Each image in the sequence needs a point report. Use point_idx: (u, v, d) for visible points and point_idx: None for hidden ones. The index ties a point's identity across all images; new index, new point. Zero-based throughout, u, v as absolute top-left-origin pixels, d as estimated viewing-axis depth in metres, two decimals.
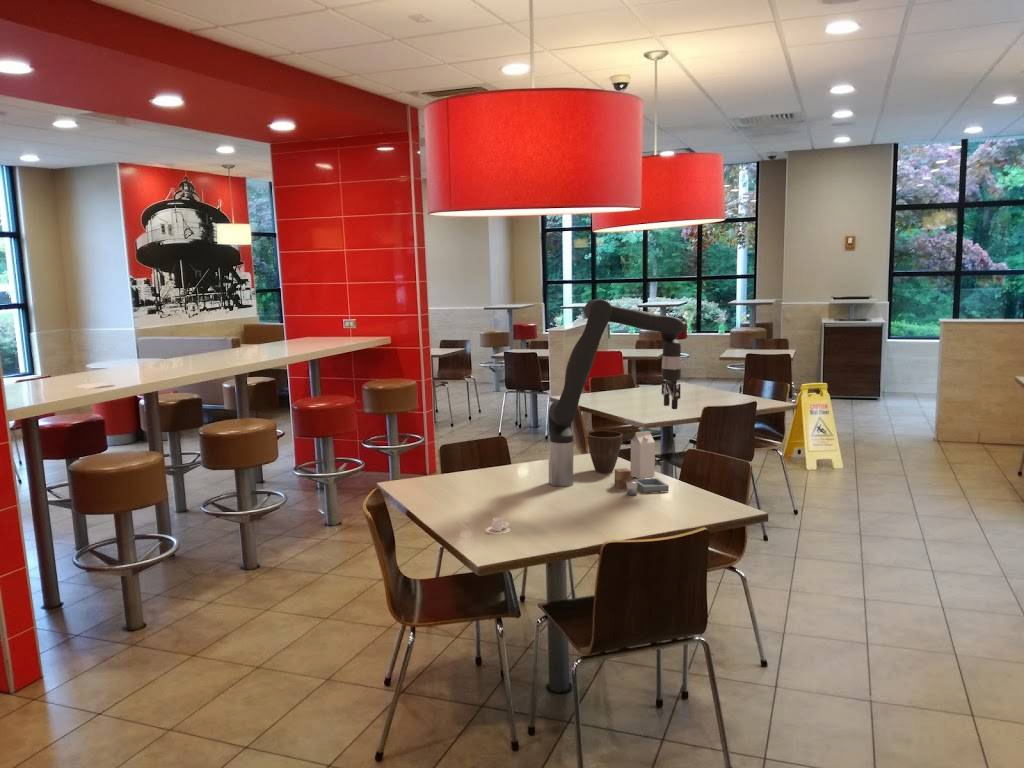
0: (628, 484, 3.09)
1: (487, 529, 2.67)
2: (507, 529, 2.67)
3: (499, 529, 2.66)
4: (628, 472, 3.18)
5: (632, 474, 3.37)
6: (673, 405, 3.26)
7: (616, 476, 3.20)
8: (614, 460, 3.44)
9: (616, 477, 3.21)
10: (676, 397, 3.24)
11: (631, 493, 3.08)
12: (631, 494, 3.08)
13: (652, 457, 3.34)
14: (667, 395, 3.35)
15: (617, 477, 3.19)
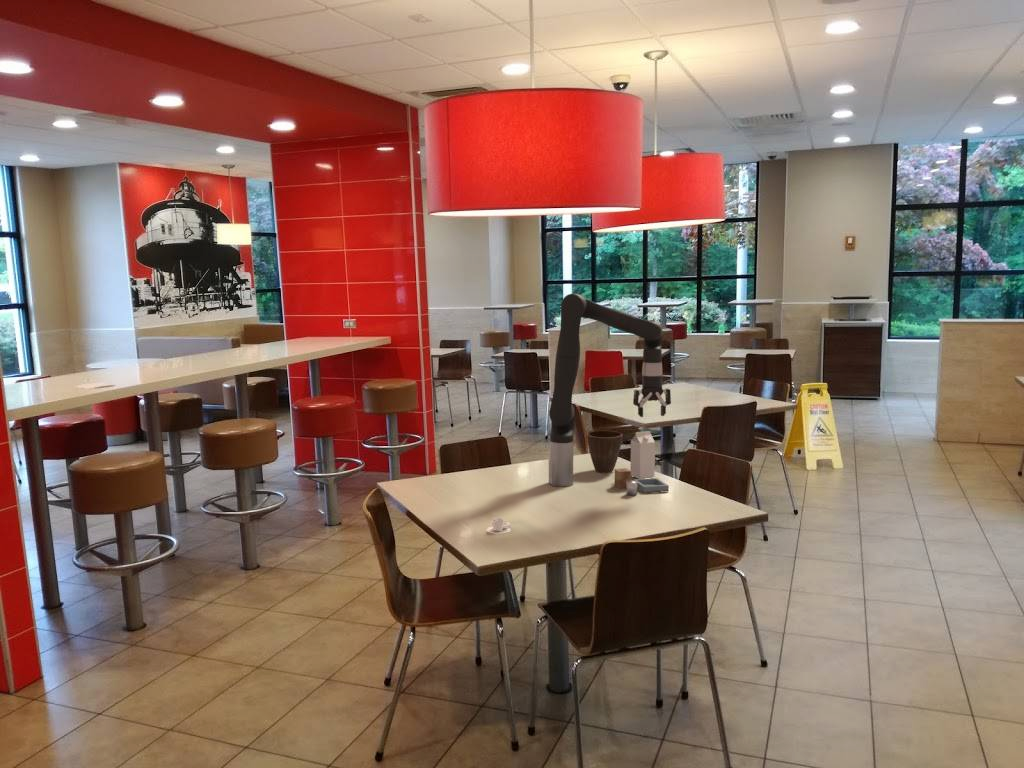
0: (628, 484, 3.09)
1: (488, 529, 2.67)
2: (508, 529, 2.67)
3: (500, 529, 2.66)
4: (628, 472, 3.18)
5: (632, 474, 3.37)
6: (664, 412, 3.15)
7: (616, 476, 3.20)
8: (614, 460, 3.44)
9: (616, 477, 3.21)
10: None
11: (631, 493, 3.08)
12: (631, 494, 3.08)
13: (652, 457, 3.34)
14: None
15: (617, 477, 3.19)
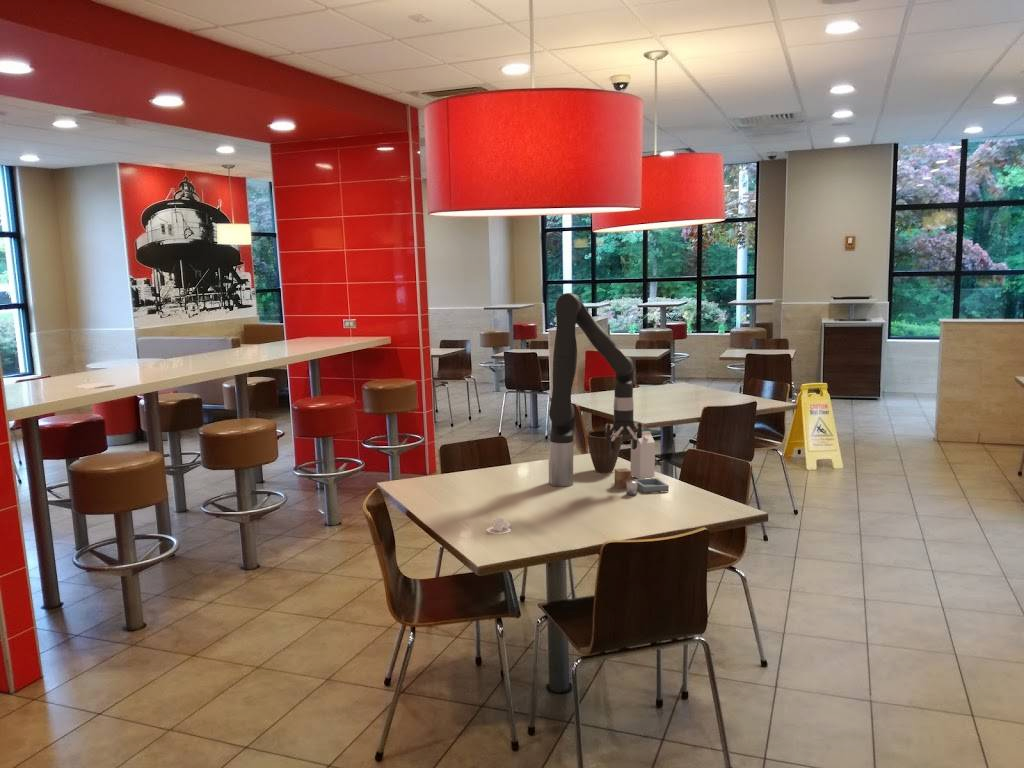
0: (628, 484, 3.09)
1: (488, 529, 2.67)
2: (508, 529, 2.67)
3: (500, 529, 2.65)
4: (628, 472, 3.18)
5: (632, 474, 3.37)
6: (636, 445, 3.19)
7: (616, 476, 3.20)
8: (614, 460, 3.44)
9: (616, 477, 3.21)
10: None
11: (631, 493, 3.08)
12: (631, 494, 3.08)
13: (652, 457, 3.34)
14: None
15: (617, 477, 3.19)
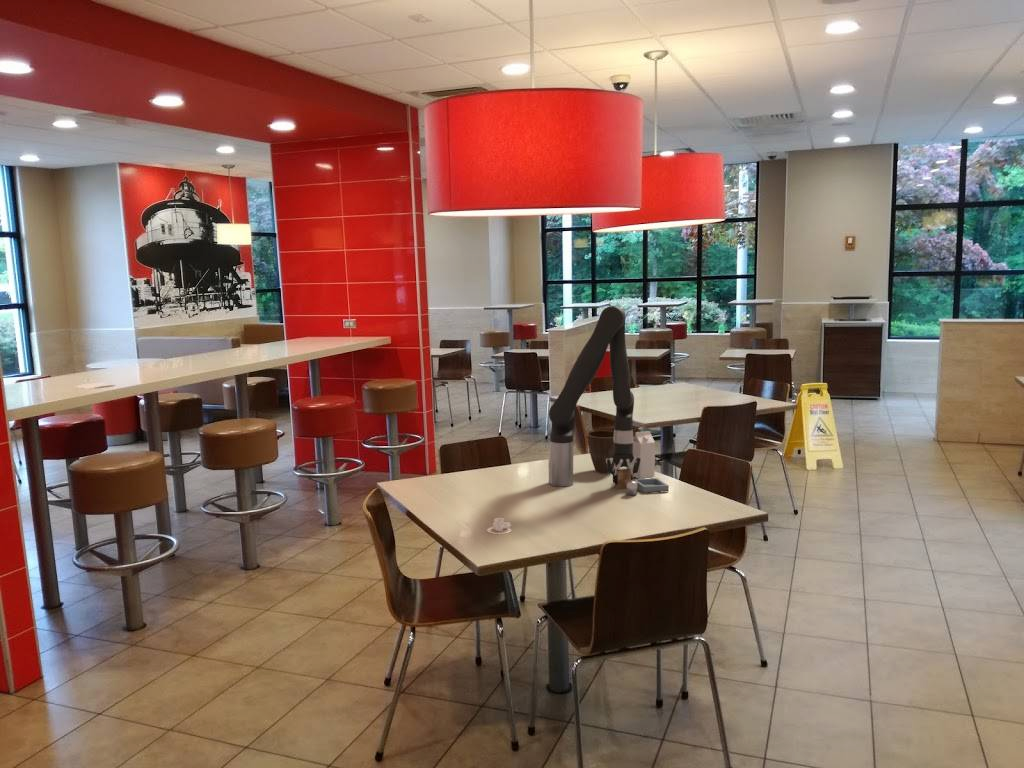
0: (628, 484, 3.09)
1: (488, 529, 2.67)
2: (508, 529, 2.67)
3: (500, 529, 2.65)
4: (628, 472, 3.18)
5: None
6: None
7: None
8: None
9: None
10: None
11: (631, 493, 3.08)
12: (631, 494, 3.08)
13: (652, 457, 3.34)
14: None
15: (617, 477, 3.19)
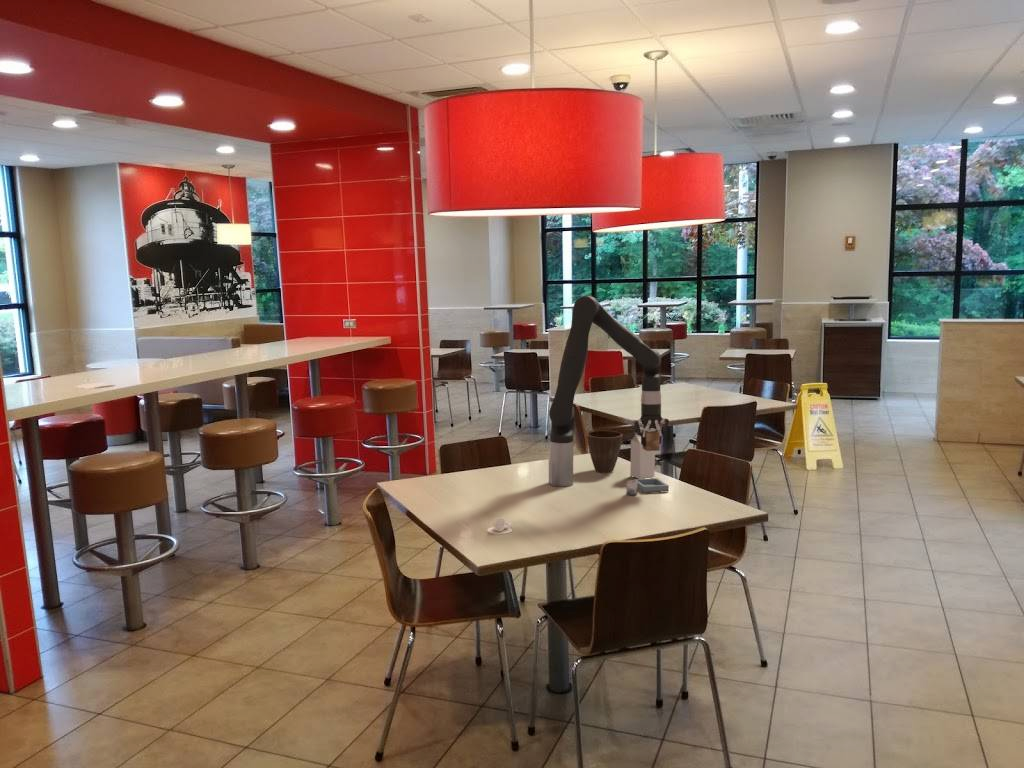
0: (628, 484, 3.09)
1: (489, 529, 2.67)
2: (509, 529, 2.67)
3: (501, 529, 2.65)
4: (656, 433, 3.14)
5: (632, 474, 3.37)
6: (660, 441, 3.17)
7: None
8: (614, 460, 3.44)
9: None
10: None
11: (631, 493, 3.08)
12: (631, 494, 3.08)
13: (652, 457, 3.34)
14: None
15: None
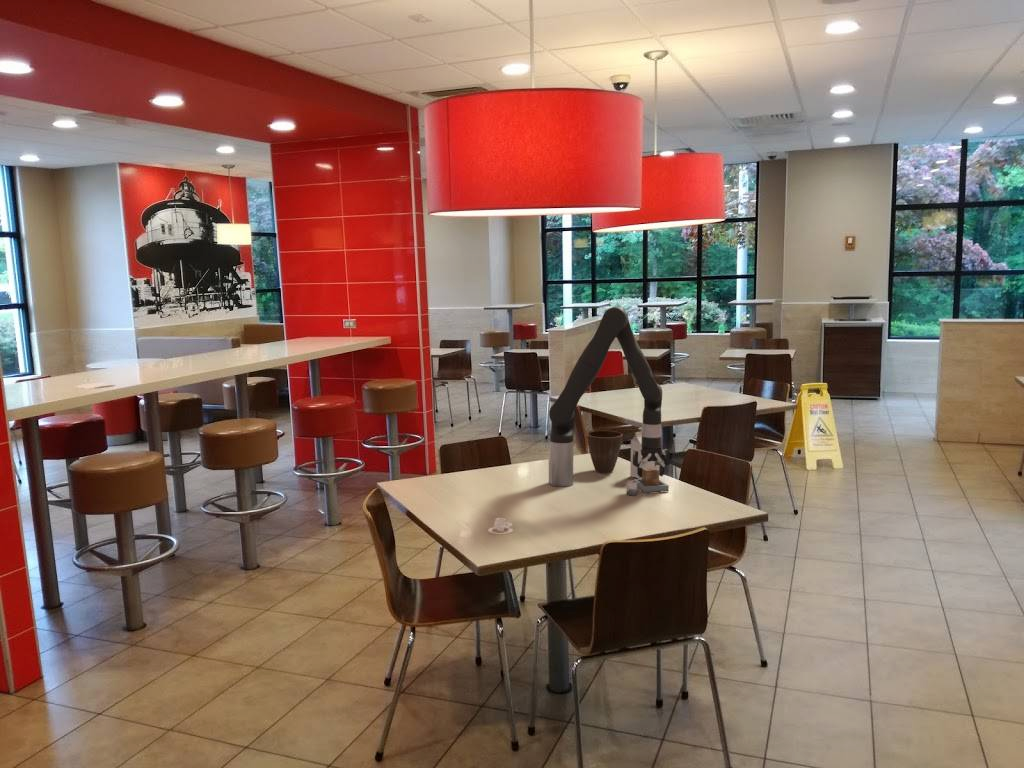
0: (628, 484, 3.09)
1: (490, 529, 2.67)
2: (510, 529, 2.67)
3: (502, 529, 2.65)
4: (656, 471, 3.16)
5: (632, 474, 3.37)
6: (663, 472, 3.18)
7: (644, 476, 3.18)
8: (614, 460, 3.44)
9: (643, 477, 3.19)
10: None
11: (631, 493, 3.08)
12: (631, 494, 3.08)
13: None
14: None
15: (645, 477, 3.17)
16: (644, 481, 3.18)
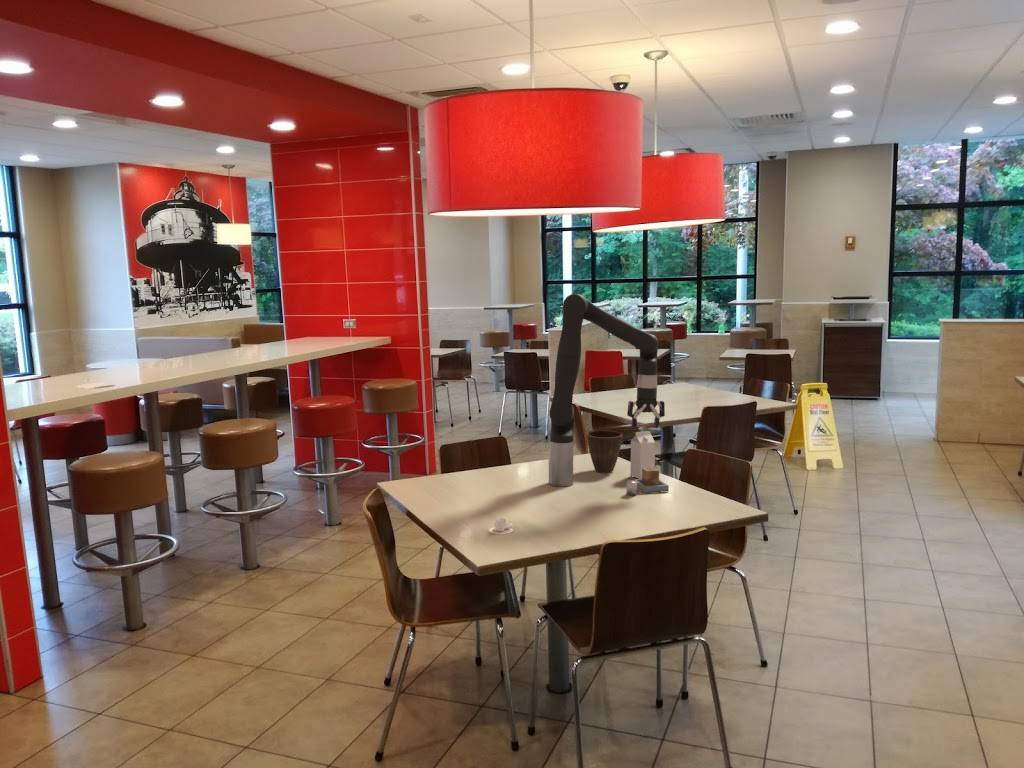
0: (628, 484, 3.09)
1: (490, 529, 2.67)
2: (510, 529, 2.67)
3: (502, 529, 2.65)
4: (656, 471, 3.16)
5: (632, 474, 3.37)
6: (658, 423, 3.18)
7: (644, 476, 3.18)
8: (614, 460, 3.44)
9: (643, 477, 3.19)
10: None
11: (631, 493, 3.08)
12: (631, 494, 3.08)
13: (652, 457, 3.34)
14: None
15: (645, 477, 3.17)
16: (644, 481, 3.18)
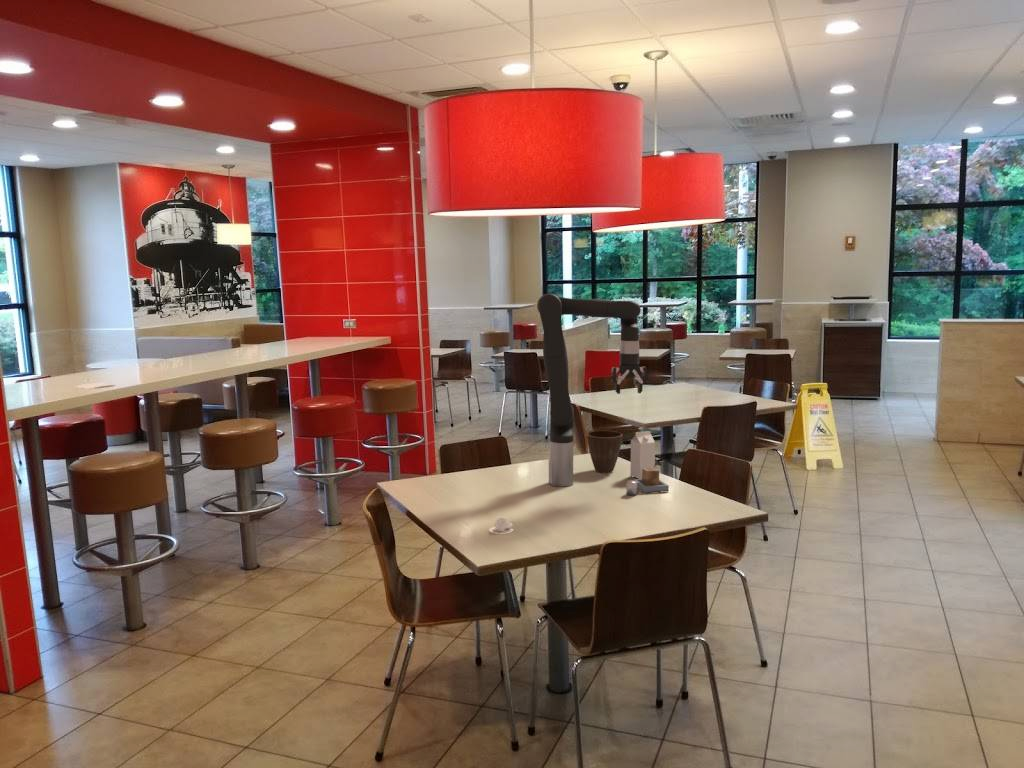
0: (628, 484, 3.09)
1: (490, 529, 2.67)
2: (510, 529, 2.67)
3: (502, 529, 2.65)
4: (656, 471, 3.16)
5: (632, 474, 3.37)
6: (641, 389, 3.23)
7: (644, 476, 3.18)
8: (614, 460, 3.44)
9: (643, 477, 3.19)
10: None
11: (631, 493, 3.08)
12: (631, 494, 3.08)
13: (652, 457, 3.34)
14: None
15: (645, 477, 3.17)
16: (644, 481, 3.18)
